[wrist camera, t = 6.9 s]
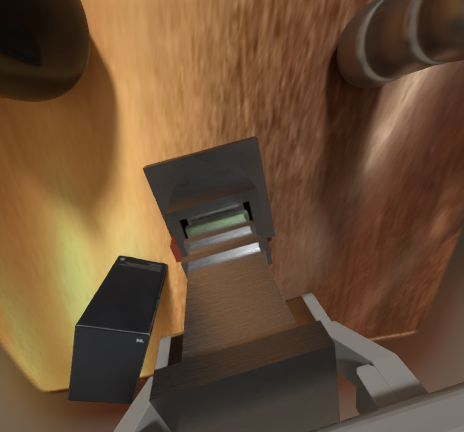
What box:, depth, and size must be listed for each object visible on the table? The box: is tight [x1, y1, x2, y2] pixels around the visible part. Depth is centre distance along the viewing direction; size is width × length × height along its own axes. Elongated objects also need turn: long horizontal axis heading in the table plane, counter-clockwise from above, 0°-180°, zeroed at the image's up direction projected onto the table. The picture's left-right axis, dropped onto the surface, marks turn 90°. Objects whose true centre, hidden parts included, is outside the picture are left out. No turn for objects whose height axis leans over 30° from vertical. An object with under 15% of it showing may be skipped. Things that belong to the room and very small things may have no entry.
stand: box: [143, 137, 275, 265], centre depth 22 cm, size 12×12×10 cm
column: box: [149, 203, 340, 432], centre depth 14 cm, size 5×5×15 cm
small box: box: [68, 256, 168, 404], centre depth 25 cm, size 11×6×10 cm, turn 161°
